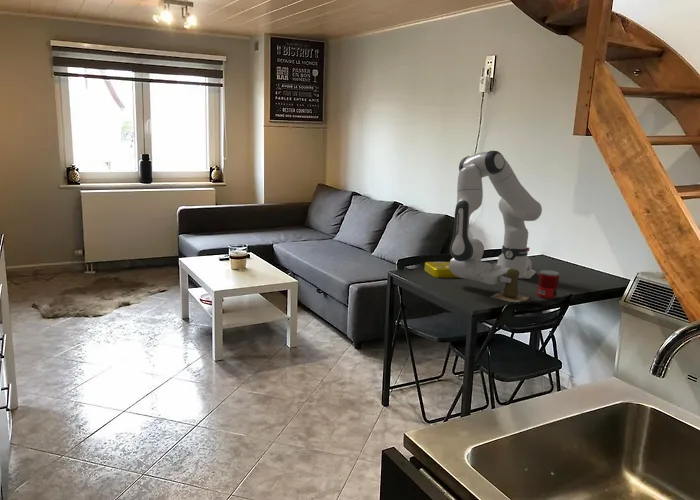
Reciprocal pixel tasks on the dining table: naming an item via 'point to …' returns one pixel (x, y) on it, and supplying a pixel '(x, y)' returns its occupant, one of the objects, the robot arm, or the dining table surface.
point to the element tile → (439, 269)
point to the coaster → (508, 298)
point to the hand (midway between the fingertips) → (514, 279)
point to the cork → (512, 283)
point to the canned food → (548, 284)
